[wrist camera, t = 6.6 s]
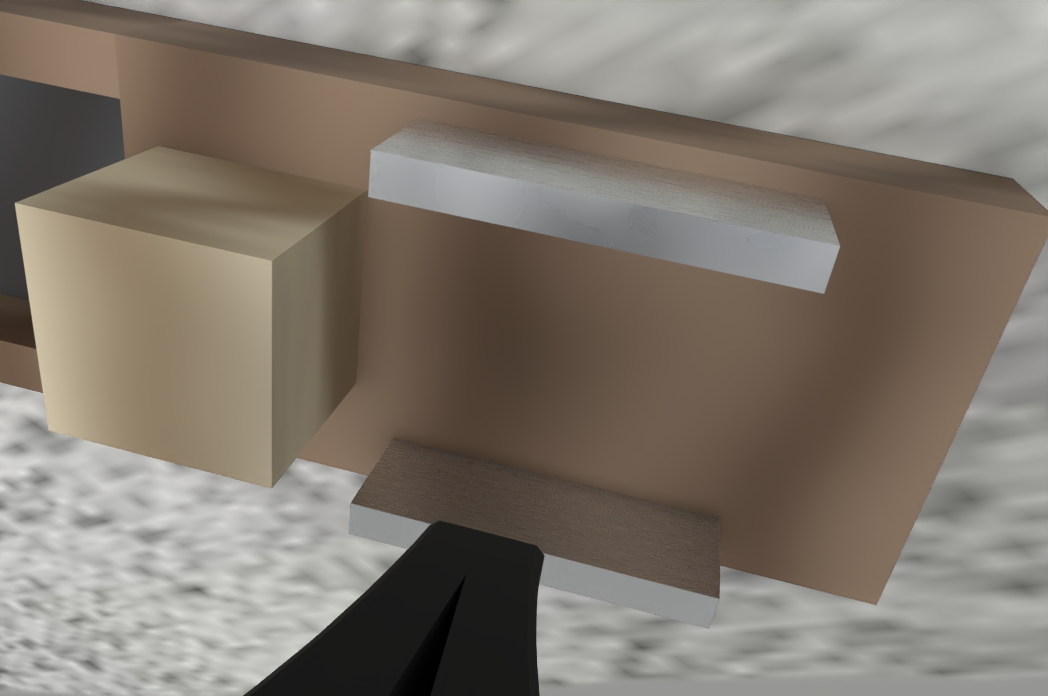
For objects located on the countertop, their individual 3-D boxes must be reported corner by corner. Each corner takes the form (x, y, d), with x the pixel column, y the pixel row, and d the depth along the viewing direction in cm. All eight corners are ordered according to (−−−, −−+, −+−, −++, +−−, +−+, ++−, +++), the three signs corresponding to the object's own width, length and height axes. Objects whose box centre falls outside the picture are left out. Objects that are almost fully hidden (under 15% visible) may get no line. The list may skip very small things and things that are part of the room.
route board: (1013, 178, 17) (1056, 218, 14) (860, 533, 21) (876, 605, 19) (-114, -37, 20) (-219, -31, 17) (-45, 311, 24) (-123, 351, 22)
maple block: (366, 190, 17) (271, 261, 13) (355, 383, 19) (271, 488, 15) (158, 145, 17) (14, 202, 14) (170, 338, 19) (48, 430, 16)
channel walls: (823, 198, 15) (840, 246, 13) (710, 546, 19) (709, 628, 17) (420, 118, 16) (370, 149, 14) (391, 465, 20) (348, 533, 18)
